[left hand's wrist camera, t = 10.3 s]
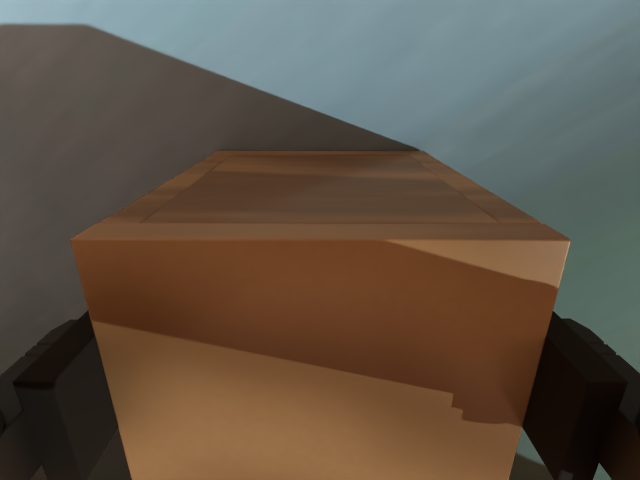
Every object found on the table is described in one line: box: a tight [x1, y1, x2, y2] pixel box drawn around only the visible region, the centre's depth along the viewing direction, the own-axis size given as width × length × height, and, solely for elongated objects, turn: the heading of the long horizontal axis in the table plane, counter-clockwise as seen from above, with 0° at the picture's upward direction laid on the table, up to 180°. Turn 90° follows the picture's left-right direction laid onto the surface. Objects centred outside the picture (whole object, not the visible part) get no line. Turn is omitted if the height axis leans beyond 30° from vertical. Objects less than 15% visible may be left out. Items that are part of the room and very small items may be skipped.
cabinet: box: [70, 151, 571, 480], centre depth 17 cm, size 21×10×12 cm, turn 0°
